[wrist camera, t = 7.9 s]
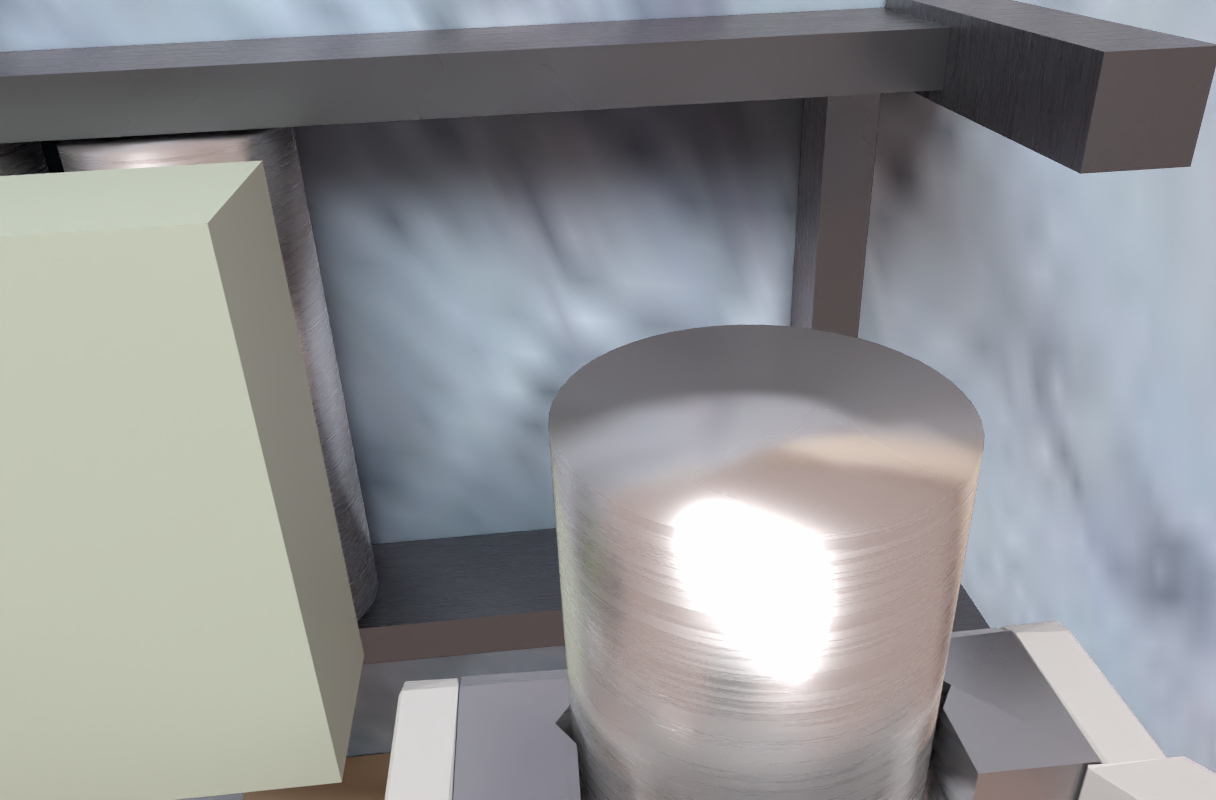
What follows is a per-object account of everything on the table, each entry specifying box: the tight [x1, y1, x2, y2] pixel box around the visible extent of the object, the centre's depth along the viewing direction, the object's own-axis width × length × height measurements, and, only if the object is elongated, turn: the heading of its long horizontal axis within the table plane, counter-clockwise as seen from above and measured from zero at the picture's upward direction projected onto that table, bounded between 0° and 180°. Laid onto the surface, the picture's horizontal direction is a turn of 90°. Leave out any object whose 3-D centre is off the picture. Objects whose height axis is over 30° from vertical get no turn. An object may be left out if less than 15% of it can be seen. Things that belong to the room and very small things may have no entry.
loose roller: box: [548, 325, 984, 800], centre depth 8 cm, size 7×3×3 cm, turn 2°
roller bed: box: [0, 0, 1216, 664], centre depth 14 cm, size 21×10×6 cm, turn 92°
